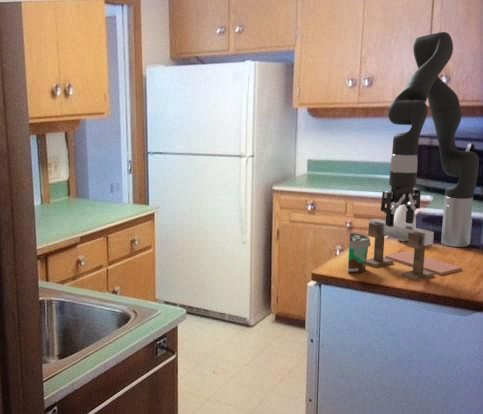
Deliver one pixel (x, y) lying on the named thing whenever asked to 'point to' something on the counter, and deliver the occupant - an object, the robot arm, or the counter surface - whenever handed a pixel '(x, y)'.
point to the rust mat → (425, 263)
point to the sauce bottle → (403, 217)
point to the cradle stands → (381, 261)
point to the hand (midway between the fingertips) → (399, 224)
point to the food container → (358, 253)
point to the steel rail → (403, 232)
